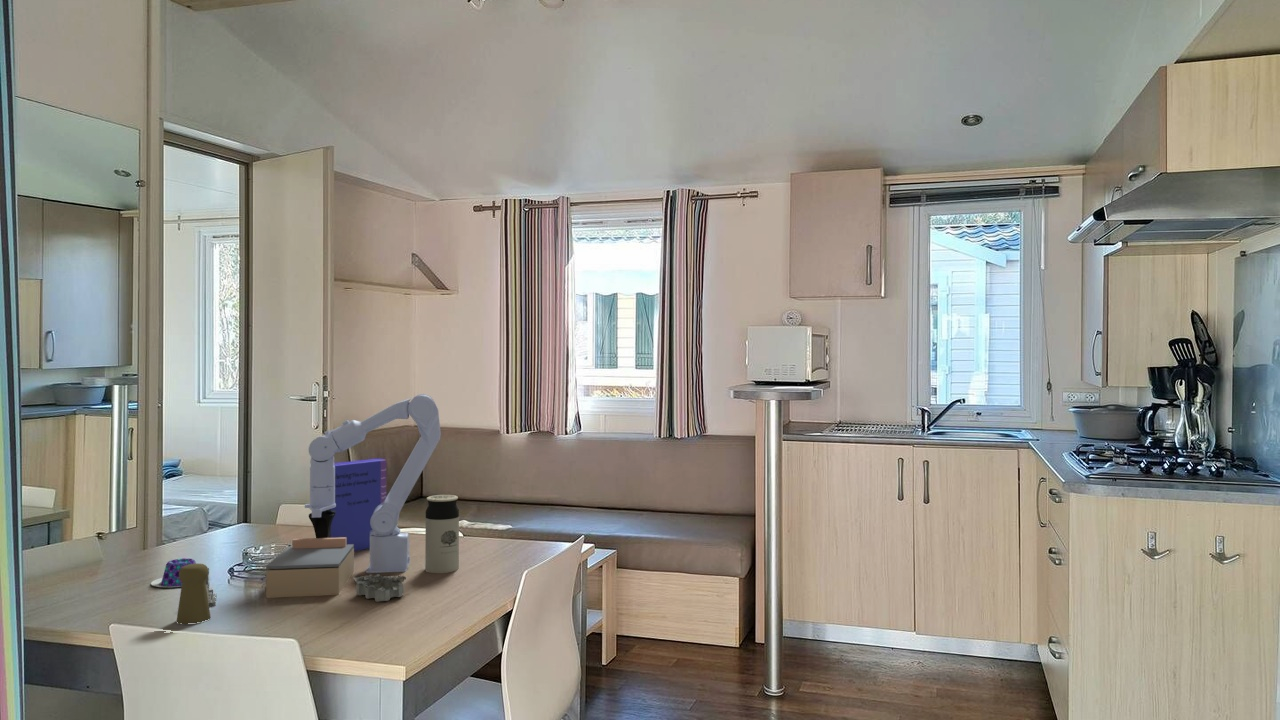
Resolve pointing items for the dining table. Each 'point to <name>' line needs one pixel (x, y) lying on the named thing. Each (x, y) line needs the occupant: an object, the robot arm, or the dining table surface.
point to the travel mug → (442, 534)
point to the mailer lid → (313, 553)
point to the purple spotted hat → (172, 573)
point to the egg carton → (380, 586)
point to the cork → (193, 594)
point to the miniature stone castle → (210, 593)
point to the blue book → (357, 499)
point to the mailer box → (309, 580)
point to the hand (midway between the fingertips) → (322, 542)
